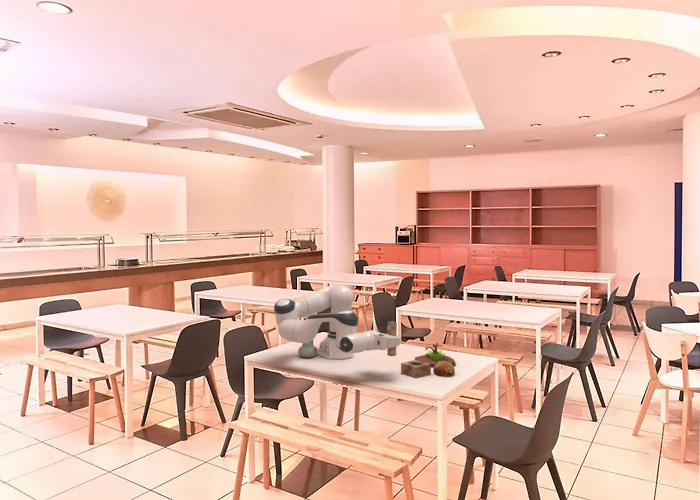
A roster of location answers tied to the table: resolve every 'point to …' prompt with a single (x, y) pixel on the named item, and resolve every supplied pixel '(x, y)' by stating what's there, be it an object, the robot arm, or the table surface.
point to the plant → (435, 357)
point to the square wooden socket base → (415, 369)
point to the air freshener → (307, 350)
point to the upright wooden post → (392, 331)
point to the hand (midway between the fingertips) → (393, 336)
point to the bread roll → (444, 369)
